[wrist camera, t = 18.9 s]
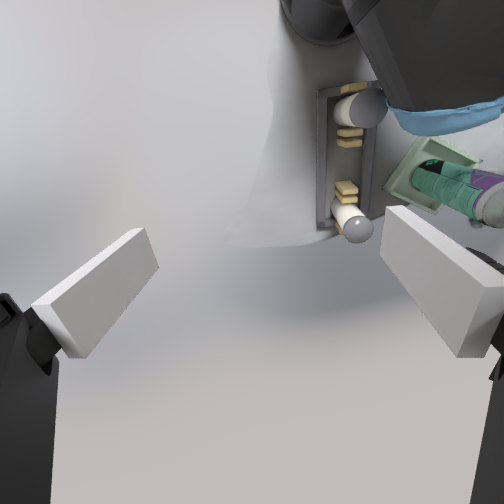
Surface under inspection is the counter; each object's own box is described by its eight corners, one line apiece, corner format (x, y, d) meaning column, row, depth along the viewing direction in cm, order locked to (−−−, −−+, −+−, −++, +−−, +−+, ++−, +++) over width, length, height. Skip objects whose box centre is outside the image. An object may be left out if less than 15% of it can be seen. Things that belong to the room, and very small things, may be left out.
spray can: (437, 190, 43) (544, 239, 26) (405, 190, 44) (489, 237, 26) (448, 158, 41) (577, 187, 23) (414, 158, 41) (515, 186, 24)
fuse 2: (337, 191, 46) (354, 213, 35) (356, 200, 46) (379, 224, 36) (325, 211, 48) (338, 236, 37) (344, 219, 48) (362, 247, 38)
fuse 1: (341, 91, 38) (365, 81, 28) (364, 103, 39) (396, 97, 28) (327, 119, 40) (344, 119, 30) (349, 130, 41) (373, 134, 30)
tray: (421, 132, 40) (429, 133, 38) (472, 158, 41) (483, 160, 39) (381, 188, 45) (387, 192, 42) (428, 210, 46) (435, 215, 43)
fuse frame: (316, 90, 38) (322, 86, 33) (378, 80, 37) (394, 74, 32) (316, 224, 49) (321, 237, 44) (364, 220, 48) (374, 233, 43)
